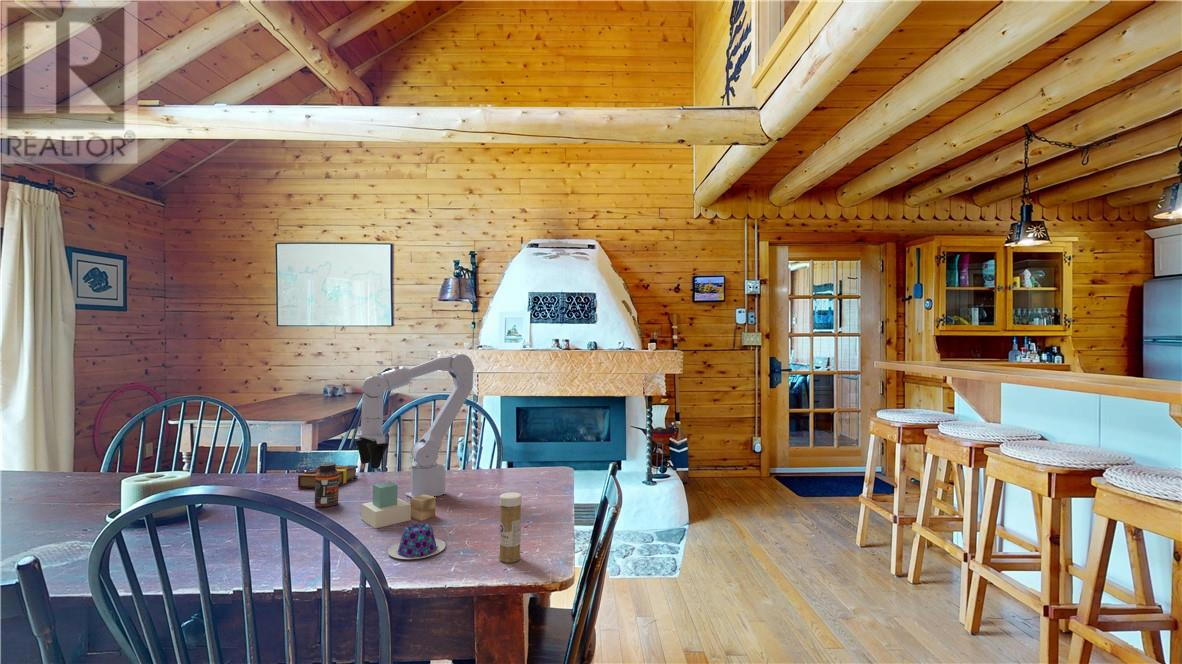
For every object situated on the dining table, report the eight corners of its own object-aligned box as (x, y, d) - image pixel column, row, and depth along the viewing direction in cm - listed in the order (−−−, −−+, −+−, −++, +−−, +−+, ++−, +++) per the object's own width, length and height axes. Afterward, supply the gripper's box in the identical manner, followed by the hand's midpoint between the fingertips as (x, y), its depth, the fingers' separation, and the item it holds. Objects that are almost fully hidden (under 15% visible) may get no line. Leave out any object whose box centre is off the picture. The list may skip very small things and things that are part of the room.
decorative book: (296, 489, 159) (297, 473, 159) (329, 476, 175) (329, 462, 175) (330, 490, 158) (330, 474, 158) (359, 477, 174) (360, 463, 174)
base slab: (395, 511, 137) (396, 496, 137) (410, 520, 131) (410, 504, 131) (361, 519, 131) (361, 503, 131) (375, 528, 124) (375, 512, 124)
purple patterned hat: (394, 567, 103) (394, 541, 103) (382, 547, 113) (383, 524, 113) (452, 554, 110) (453, 530, 110) (436, 537, 120) (437, 514, 120)
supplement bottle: (328, 508, 140) (329, 467, 140) (309, 507, 141) (310, 465, 141) (343, 502, 145) (344, 462, 146) (324, 500, 147) (325, 461, 147)
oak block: (423, 513, 136) (423, 494, 137) (435, 516, 134) (435, 496, 134) (409, 517, 133) (410, 498, 133) (421, 521, 130) (422, 501, 130)
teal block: (390, 500, 134) (390, 481, 134) (397, 504, 130) (397, 484, 131) (372, 504, 131) (373, 484, 131) (379, 508, 127) (379, 488, 128)
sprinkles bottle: (494, 559, 107) (495, 494, 107) (511, 553, 110) (511, 490, 110) (508, 565, 104) (509, 499, 104) (525, 558, 107) (526, 494, 108)
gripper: (348, 416, 149) (346, 463, 148) (367, 421, 138) (365, 472, 138) (373, 414, 154) (371, 459, 153) (393, 419, 143) (391, 468, 143)
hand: (370, 465), depth 146 cm, fingers open, 7 cm apart
